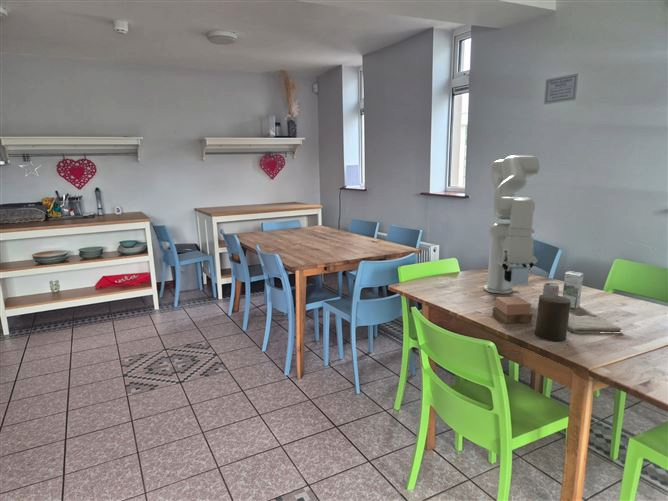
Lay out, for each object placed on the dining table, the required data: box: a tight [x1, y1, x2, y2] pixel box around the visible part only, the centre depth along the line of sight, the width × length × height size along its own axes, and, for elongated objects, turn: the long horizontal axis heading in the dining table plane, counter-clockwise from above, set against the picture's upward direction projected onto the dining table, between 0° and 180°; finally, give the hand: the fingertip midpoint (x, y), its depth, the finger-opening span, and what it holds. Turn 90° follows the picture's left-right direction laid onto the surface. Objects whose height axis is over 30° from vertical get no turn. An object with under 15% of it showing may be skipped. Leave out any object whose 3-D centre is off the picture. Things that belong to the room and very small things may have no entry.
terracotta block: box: [494, 296, 532, 315], centre depth 161 cm, size 9×9×4 cm
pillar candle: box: [534, 293, 571, 343], centre depth 145 cm, size 10×10×15 cm
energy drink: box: [542, 282, 560, 296], centre depth 167 cm, size 5×5×12 cm
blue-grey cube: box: [504, 264, 530, 286], centre depth 158 cm, size 6×6×6 cm
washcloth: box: [567, 314, 622, 334], centre depth 154 cm, size 12×18×3 cm, turn 91°
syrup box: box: [561, 270, 584, 310], centre depth 176 cm, size 6×6×14 cm
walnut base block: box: [492, 306, 533, 326], centre depth 162 cm, size 10×10×4 cm
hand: (515, 280), depth 158 cm, fingers closed on blue-grey cube, 6 cm apart
